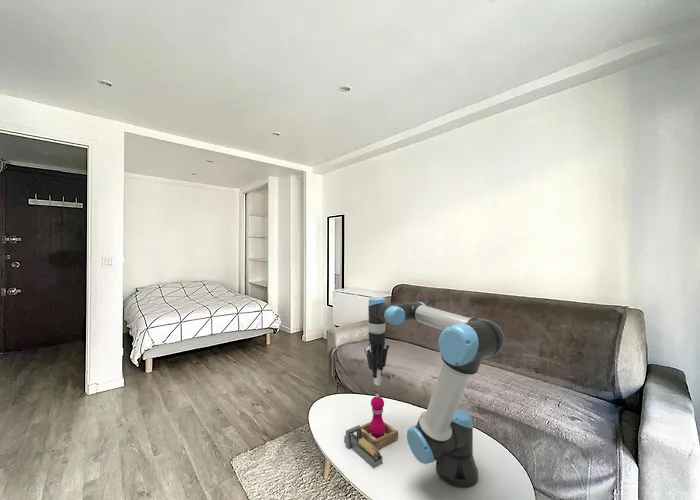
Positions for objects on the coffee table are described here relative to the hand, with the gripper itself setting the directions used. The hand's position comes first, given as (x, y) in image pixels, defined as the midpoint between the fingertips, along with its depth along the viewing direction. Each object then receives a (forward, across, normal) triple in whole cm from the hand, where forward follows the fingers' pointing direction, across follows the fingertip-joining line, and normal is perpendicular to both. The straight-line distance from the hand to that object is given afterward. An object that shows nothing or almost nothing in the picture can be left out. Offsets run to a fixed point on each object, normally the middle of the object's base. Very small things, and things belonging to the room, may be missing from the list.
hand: (377, 384), depth 138 cm
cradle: (+24, 0, 0) cm, 24 cm away
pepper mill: (+25, 0, 0) cm, 25 cm away
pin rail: (+24, +12, +4) cm, 27 cm away
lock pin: (+22, +12, +8) cm, 26 cm away
